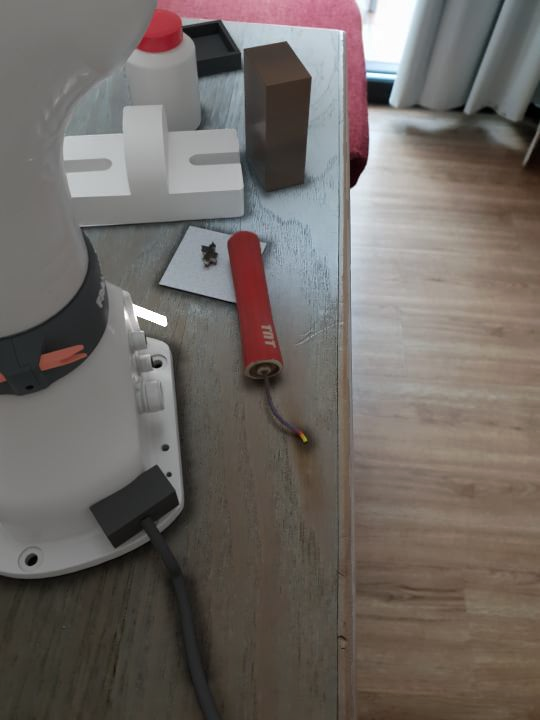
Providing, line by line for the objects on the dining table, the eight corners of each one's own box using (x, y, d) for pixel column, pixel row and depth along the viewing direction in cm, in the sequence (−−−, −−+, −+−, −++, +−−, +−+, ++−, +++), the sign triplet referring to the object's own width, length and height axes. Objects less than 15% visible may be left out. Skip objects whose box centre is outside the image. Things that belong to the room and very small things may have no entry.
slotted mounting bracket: (71, 165, 66) (47, 89, 59) (237, 155, 67) (234, 80, 60) (63, 228, 61) (37, 153, 53) (244, 216, 62) (242, 141, 55)
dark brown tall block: (304, 183, 65) (312, 76, 55) (265, 192, 64) (266, 85, 54) (282, 147, 68) (286, 40, 58) (245, 155, 67) (243, 48, 57)
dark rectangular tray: (241, 69, 77) (241, 52, 75) (192, 78, 75) (191, 62, 74) (221, 35, 81) (220, 19, 79) (174, 43, 80) (172, 27, 78)
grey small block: (241, 304, 55) (240, 290, 54) (158, 284, 56) (155, 270, 55) (266, 243, 60) (267, 229, 58) (189, 226, 61) (188, 211, 59)
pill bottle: (198, 141, 69) (189, 44, 59) (129, 139, 69) (109, 42, 59) (204, 100, 73) (196, 4, 64) (139, 98, 73) (122, 2, 64)
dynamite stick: (219, 248, 57) (246, 446, 47) (235, 225, 55) (267, 427, 44) (261, 259, 59) (296, 450, 49) (278, 237, 57) (318, 433, 47)
